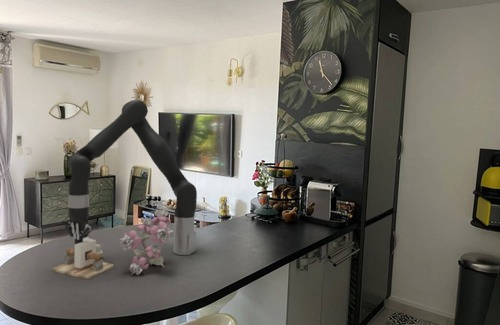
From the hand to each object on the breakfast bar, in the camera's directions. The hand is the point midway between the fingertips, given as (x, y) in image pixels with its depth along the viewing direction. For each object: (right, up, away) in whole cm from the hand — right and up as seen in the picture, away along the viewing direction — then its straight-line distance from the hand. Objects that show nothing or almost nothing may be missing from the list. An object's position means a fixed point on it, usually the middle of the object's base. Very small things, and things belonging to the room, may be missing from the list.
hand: (78, 247), depth 146 cm
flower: (+27, -9, +2) cm, 28 cm away
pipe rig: (+2, -8, 0) cm, 9 cm away
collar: (+3, -6, -1) cm, 7 cm away
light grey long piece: (-3, -7, +19) cm, 21 cm away
